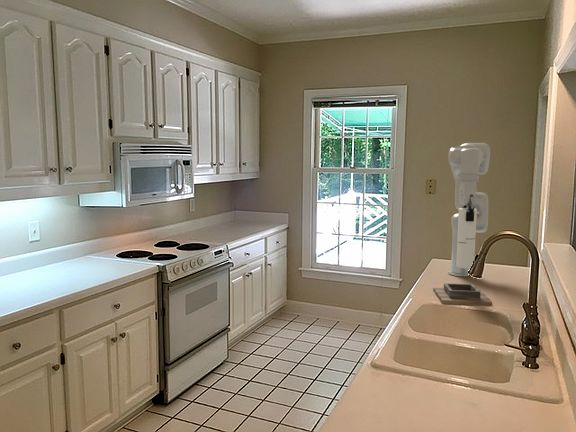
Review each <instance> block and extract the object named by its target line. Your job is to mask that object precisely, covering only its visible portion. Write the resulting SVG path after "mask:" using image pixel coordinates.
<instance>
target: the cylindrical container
mask: <svg viewBox="0 0 576 432" xmlns="http://www.w3.org/2000/svg"><path fill="white" fill-rule="evenodd" d="M466 212H467V208H459V210H458V213H459V219H458V242H457V264H456V266H457V267H459V268H466V269H470V267H471V265H472V263H473V261H474V262H475V255H476V254H475V253H476V237H477V235H476V234H477V233H476V217H477V214H478V211H477V209H474V221H466Z"/></svg>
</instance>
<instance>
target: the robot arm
mask: <svg viewBox="0 0 576 432" xmlns="http://www.w3.org/2000/svg"><path fill="white" fill-rule="evenodd" d="M447 156H448V157H447V158H448V159H447V160H448V164H449V165H450V169H451V173H452V177H453V178H454V183H455V188H454V189H455V191H454V192H455V193H454V205H455V208H456V210H458V211H459V208H467V212H466V221H474V209H477V217H476V234H477V233H482V234H483V233H486V232H487V230H488V226H489V197H488V194H487V193H485V192H481V191H480V192H478V191H477V183H479V179H480V178H479V177H480V176H479V175H485V174H487V172H488V171H489V166H490V161H491V160H490V159H491V147H490V145H489V144H487V143H486V142H466V143H462V144H461V145H458V146H452V147H451V148H449V151H448V155H447ZM458 219H459V212H458V213H454V214H453V215H452V216H451V220H450V223H451V236H452V238H451V242H452V243H451V262H450V263H451V264H450V269H448V270H447V274H448V275H450V276H455V277H463V278H464V277H470V276H469V275H468V270H469V269H466V268H459V267H457V266H456V264H457V242H458Z"/></svg>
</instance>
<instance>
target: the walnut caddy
mask: <svg viewBox="0 0 576 432" xmlns="http://www.w3.org/2000/svg"><path fill="white" fill-rule="evenodd" d="M432 292H433V293H434V294H435V295H436V298H438V300H439V301H440V303H441V304H443V305H472V306H473V305H474V306H493V300H491V299H490V298H489V297H488V296H487V295H486V294H485V293H484V292H483V291H482V289H480V288H478V287H476V285H474V284H473V283H443V287H435V286H434V287H433V288H432Z"/></svg>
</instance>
